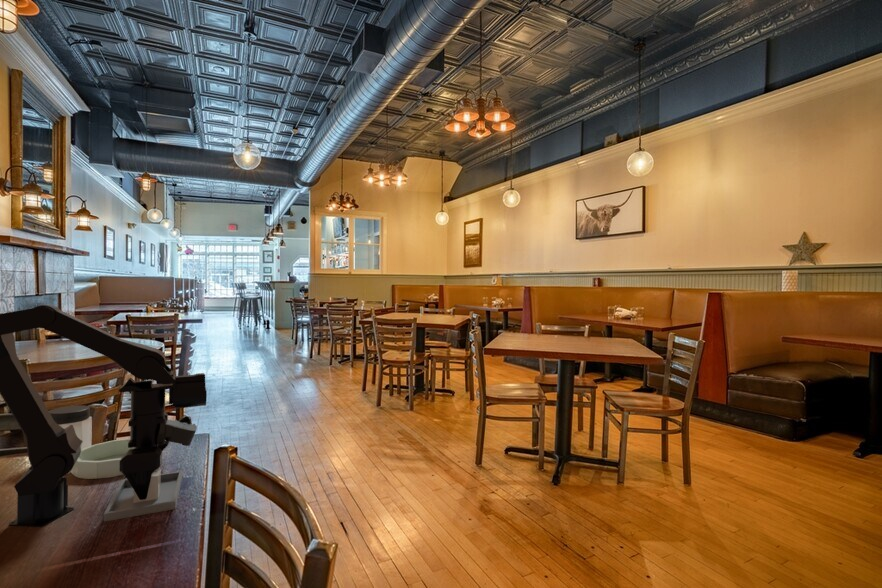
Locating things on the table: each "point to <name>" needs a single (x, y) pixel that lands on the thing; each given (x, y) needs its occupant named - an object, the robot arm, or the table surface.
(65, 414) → the lidded white canister
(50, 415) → the robot arm
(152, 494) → the block
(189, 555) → the table surface
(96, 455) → the bowl
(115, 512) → the parts tray
